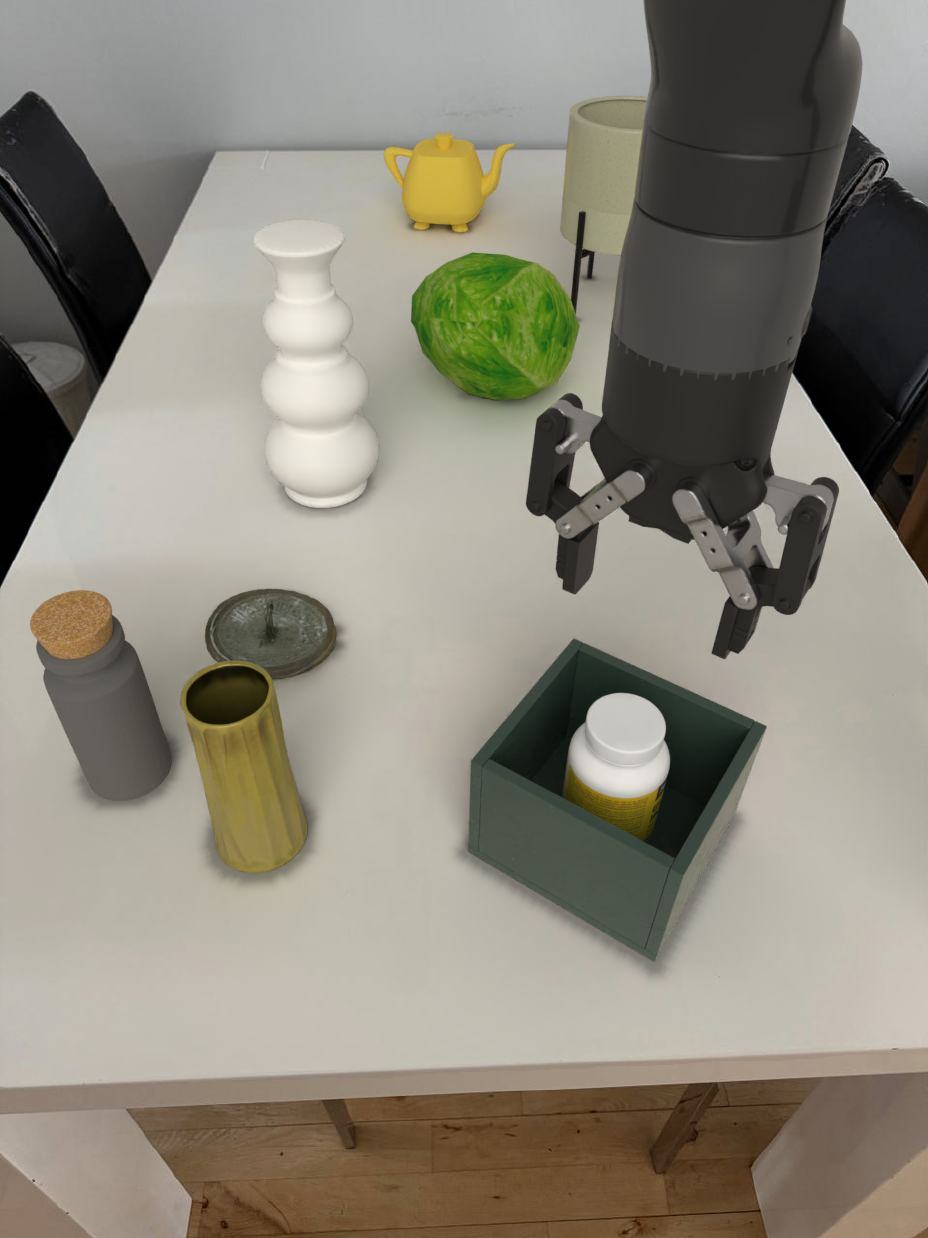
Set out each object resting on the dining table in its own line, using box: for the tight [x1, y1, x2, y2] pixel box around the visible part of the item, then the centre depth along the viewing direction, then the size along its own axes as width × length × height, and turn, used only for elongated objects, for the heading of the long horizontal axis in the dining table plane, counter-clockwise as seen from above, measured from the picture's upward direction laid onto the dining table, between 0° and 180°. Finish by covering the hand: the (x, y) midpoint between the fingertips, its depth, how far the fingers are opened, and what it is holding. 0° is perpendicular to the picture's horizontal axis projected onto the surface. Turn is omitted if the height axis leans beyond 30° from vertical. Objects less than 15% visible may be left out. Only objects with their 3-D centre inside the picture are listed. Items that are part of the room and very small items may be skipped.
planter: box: [559, 95, 648, 315], centre depth 115 cm, size 15×16×23 cm
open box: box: [467, 638, 768, 963], centre depth 58 cm, size 14×13×10 cm
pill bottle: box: [562, 693, 670, 844], centre depth 57 cm, size 6×6×11 cm
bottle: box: [29, 589, 172, 801], centre depth 60 cm, size 6×6×15 cm
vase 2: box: [252, 219, 380, 509], centre depth 82 cm, size 11×11×25 cm
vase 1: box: [179, 661, 308, 874], centre depth 56 cm, size 6×6×14 cm
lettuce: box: [410, 251, 581, 401], centre depth 101 cm, size 17×20×17 cm
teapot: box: [383, 132, 516, 233], centre depth 139 cm, size 13×20×12 cm
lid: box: [204, 588, 338, 681], centre depth 73 cm, size 11×10×5 cm
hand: (648, 615), depth 48 cm, fingers open, 8 cm apart
